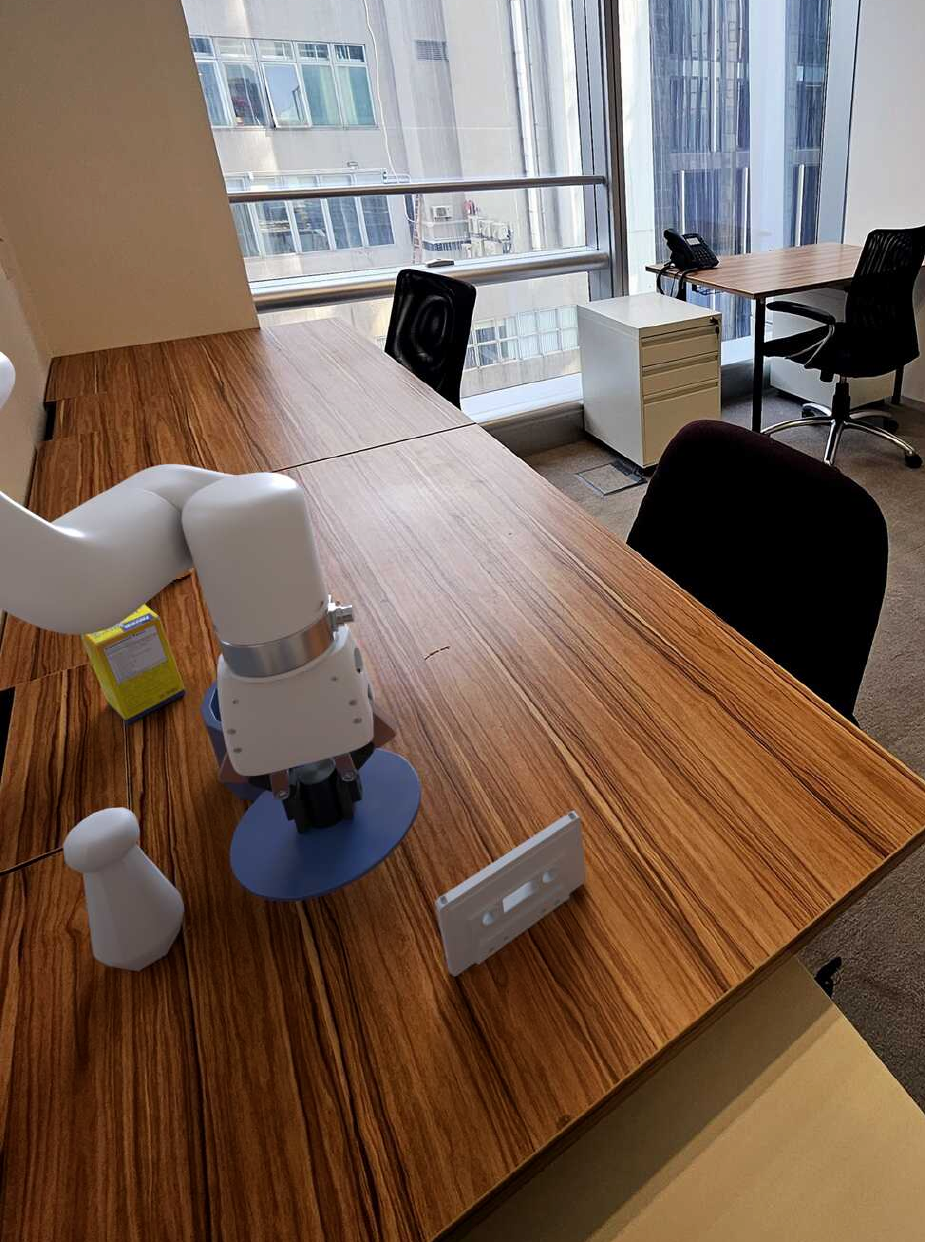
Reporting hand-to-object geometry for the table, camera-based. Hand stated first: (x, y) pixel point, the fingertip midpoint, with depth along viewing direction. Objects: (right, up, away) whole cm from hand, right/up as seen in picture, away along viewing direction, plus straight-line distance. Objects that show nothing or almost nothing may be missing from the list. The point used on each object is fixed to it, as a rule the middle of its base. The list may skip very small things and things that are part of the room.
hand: (328, 811), depth 62 cm
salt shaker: (-12, -9, -4) cm, 15 cm away
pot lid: (0, -1, 0) cm, 1 cm away
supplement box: (-31, +2, +21) cm, 38 cm away
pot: (-10, -1, +15) cm, 18 cm away
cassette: (+17, -8, -3) cm, 19 cm away
